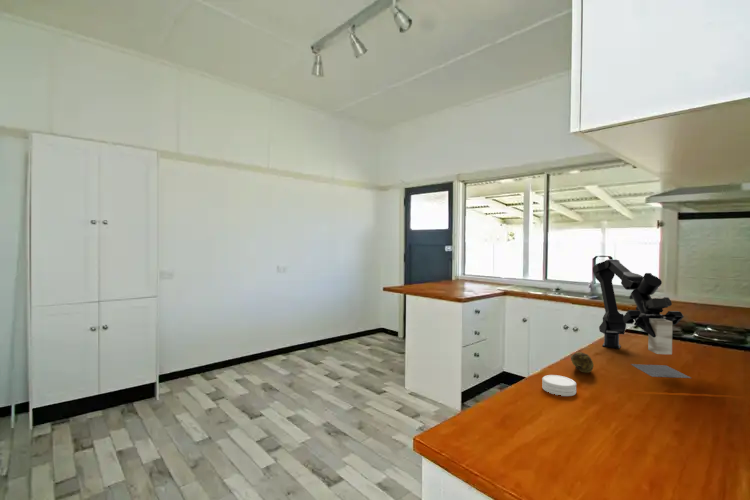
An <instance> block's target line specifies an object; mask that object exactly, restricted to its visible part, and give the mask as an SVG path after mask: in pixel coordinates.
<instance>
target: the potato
mask: <svg viewBox="0 0 750 500" xmlns="http://www.w3.org/2000/svg"><path fill="white" fill-rule="evenodd" d="M570 361H571V363H572V365H573V366H574V367H575V369H576V370H578V371H580V372H582V373H585V374H588V373H591V372H592V371H593V369H594V362H593V360H592V358H591V357H590V355H589V354H588V353H585V352H581V351H578V352H575V353H572V355H571V356H570Z"/></svg>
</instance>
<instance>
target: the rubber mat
mask: <svg viewBox="0 0 750 500" xmlns="http://www.w3.org/2000/svg"><path fill="white" fill-rule="evenodd" d="M630 365H631V366H632V367H634V368H636V369H637V370H639V371H641V372H643V373H645V374H646V375H648V376H650V377H651V378H673V379H674V378H678V379H680V378H681V379H692V377H691V376H688V375H686V374H685V373H682V372H680V371H679V370H676V369H675V368H674V367H673V368H672V367H670V366H668V365H666V364H664V365H663V364H662V365H661V364H638V363H637V364H636V363H630Z"/></svg>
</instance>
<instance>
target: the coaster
mask: <svg viewBox="0 0 750 500" xmlns="http://www.w3.org/2000/svg"><path fill="white" fill-rule="evenodd" d="M541 380H542V382H541V383H542V384H541V385H542V386H541V387H542V389H543V391H545V392H547V393H548V392H549V394H551V395H554V394H555V395H554V396H558V395H561V396H560V397H572V396H575V395H576V394H577V382H576V381H575V380H573V379H572V378H569V377H567V376H564V375H563V376H562V375H559V374H558V375H557V374H548V375H544V376H543V377H542V378H541Z"/></svg>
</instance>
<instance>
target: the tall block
mask: <svg viewBox="0 0 750 500" xmlns="http://www.w3.org/2000/svg"><path fill="white" fill-rule="evenodd" d="M649 323H650V325H651V326H652V328H653V330H654V332H655V335H656V337H652V336H651V335H650V334H648V333H647V334H648V338H647V339H648V340H647V341H648V342H647V346H648V348H647V350H648V351H650V352H652V353H654V354H657V355H673V325H672V324H673V322H672V321H669V320H666V319H656V318H649Z"/></svg>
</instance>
